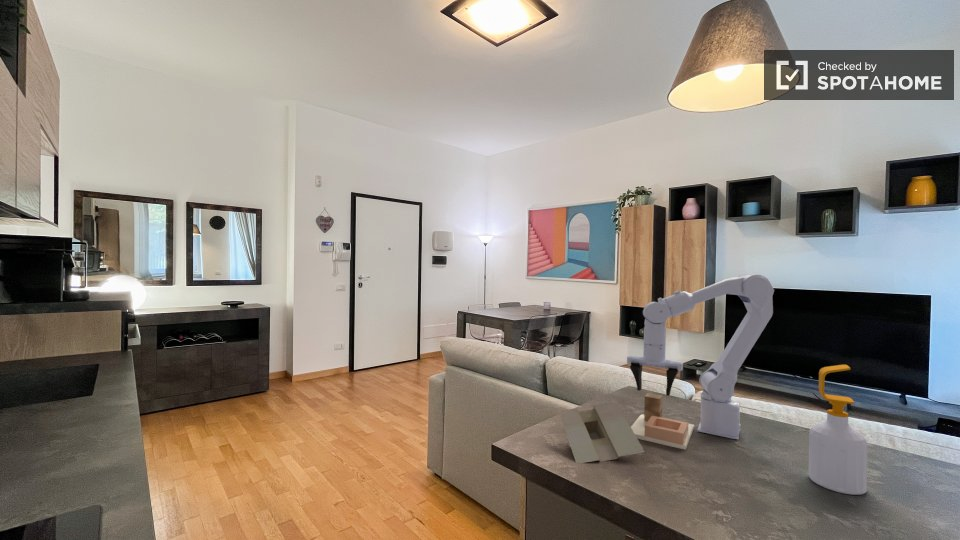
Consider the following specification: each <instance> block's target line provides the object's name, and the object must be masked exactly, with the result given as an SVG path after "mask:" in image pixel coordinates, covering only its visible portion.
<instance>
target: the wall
mask: <svg viewBox="0 0 960 540" xmlns="http://www.w3.org/2000/svg"><path fill="white" fill-rule="evenodd" d="M558 413H559V415H560V418H561V422H562V425H563V427H564V432H565V434H566V437H567V440H568V442H569V446H570V449H571V451H572V455H573V457H574V461H575V463H578V464H579V463H580V464H584V463H589V462H590V463H591V462H596V461H598V462H607V461H611V460H617V459H618V458H619V457H626V456H630V455H636V454H641V453H645V452H646V451H645V449H644V447H643V446H642V444H641V443H640V441H639V439H637V438H636V435H635V434H634V432H633V430H632V429H631V425H630V424H629V422H628V419H627V418H626V416H625V415H624V413H623V411H622V409H621V408H620V406H619V405H618V403H617V402H613V403H607V404H599V405H594V406H593V408H592V409H587V410H580V411H579V409H578V408H572V409H565V410H559V411H558Z"/></svg>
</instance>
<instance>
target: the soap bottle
mask: <svg viewBox="0 0 960 540" xmlns="http://www.w3.org/2000/svg"><path fill="white" fill-rule="evenodd" d="M850 370H851V366H849V365H847V364H838V365H830V366H824V367H821V368H820V369H819V371H818V391H819V394H820V396H821V397H822V398H823V399H824V400H826V401H828V403H829V404H830V405H832V409H831V408H830V409H827V411H826V413H827V414H826V420H824V421H822V422H818V423H815V424H813V425H812V426H811V427H810V429H809V431H808V478H810V480H811V481H812V482H814V483H815V484H816V485H818V486H820V487H822V488H825V489H827V490H830V491H833V492H835V493H840V494H845V495H854V496H855V495H859V496H860V495H864V494H865V493H867V491H868V490H867V488H868V487H867V486H868V481H867V480H868V440H867V439H866V437H865V436H864V435H863V434H862V433H861V432H859V431H858V430H857V429H855V428H853V427H852V426H851V425H850V424H849V413H848V412H846V411H844V407H847V404H850V405H854V404H855V401H854V400H853V399H852V398H851V397H849V396H842V395H834V394H827V393H825V383H826V382H825V381H826V380H825V378H826V376H827V374H830V373H837V372H844V371H850Z"/></svg>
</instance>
